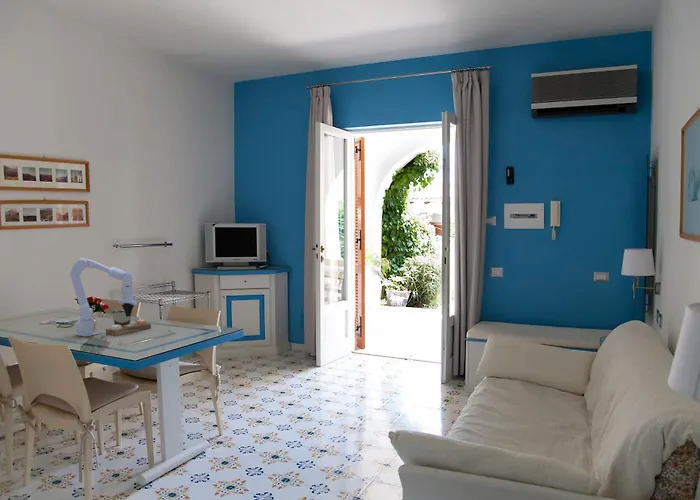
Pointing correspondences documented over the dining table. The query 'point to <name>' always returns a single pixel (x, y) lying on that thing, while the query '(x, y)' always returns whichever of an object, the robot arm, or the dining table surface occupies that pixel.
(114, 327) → the cream button
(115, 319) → the food container
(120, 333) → the button panel
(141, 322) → the terracotta button
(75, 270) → the robot arm
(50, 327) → the dining table surface
